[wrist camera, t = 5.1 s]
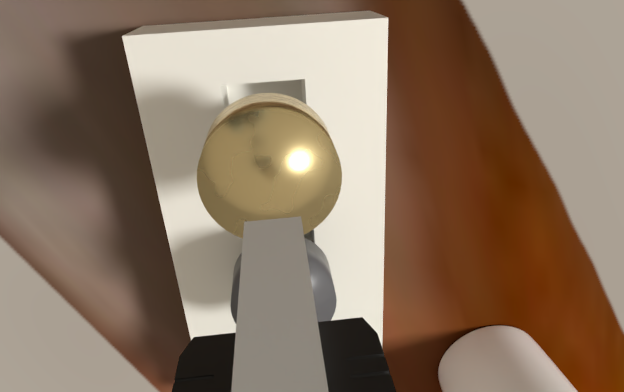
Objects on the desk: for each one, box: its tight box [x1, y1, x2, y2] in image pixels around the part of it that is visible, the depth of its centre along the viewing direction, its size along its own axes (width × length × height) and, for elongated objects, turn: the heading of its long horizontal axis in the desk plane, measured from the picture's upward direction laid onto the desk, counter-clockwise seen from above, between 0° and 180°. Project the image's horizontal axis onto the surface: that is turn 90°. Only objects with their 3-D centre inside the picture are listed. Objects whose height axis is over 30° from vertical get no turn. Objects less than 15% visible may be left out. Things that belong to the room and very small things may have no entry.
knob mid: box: [230, 238, 337, 323], centre depth 26 cm, size 5×5×7 cm
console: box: [122, 11, 388, 346], centre depth 28 cm, size 25×12×4 cm, turn 3°
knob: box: [197, 93, 342, 238], centre depth 20 cm, size 5×5×7 cm
